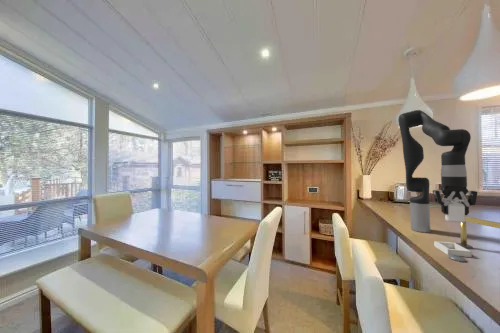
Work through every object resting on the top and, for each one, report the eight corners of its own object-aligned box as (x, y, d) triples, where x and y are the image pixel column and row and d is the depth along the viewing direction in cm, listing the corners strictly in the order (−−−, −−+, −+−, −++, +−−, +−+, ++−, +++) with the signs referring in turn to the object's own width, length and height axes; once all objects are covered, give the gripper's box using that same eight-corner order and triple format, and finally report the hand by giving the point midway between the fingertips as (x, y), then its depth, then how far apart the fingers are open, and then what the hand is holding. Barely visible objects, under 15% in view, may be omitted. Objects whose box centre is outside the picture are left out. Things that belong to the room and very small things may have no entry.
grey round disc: (445, 255, 83) (445, 254, 83) (460, 257, 81) (460, 256, 81) (453, 261, 78) (453, 259, 78) (469, 262, 77) (469, 261, 77)
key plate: (455, 244, 95) (455, 242, 95) (466, 245, 93) (466, 243, 93) (461, 247, 91) (461, 245, 91) (472, 248, 89) (472, 246, 89)
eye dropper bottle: (463, 224, 77) (464, 195, 77) (444, 220, 81) (444, 193, 81) (465, 222, 79) (465, 194, 79) (446, 219, 84) (446, 192, 84)
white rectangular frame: (434, 246, 93) (434, 241, 93) (455, 248, 91) (455, 242, 91) (447, 254, 84) (447, 249, 84) (471, 257, 81) (471, 251, 81)
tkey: (513, 258, 78) (512, 224, 78) (509, 258, 77) (507, 225, 77) (458, 241, 95) (457, 214, 95) (454, 242, 95) (453, 215, 95)
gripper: (437, 176, 79) (439, 215, 79) (483, 175, 75) (485, 217, 74) (427, 175, 87) (429, 211, 86) (468, 175, 82) (470, 213, 82)
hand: (455, 214), depth 80 cm, fingers closed on eye dropper bottle, 5 cm apart
